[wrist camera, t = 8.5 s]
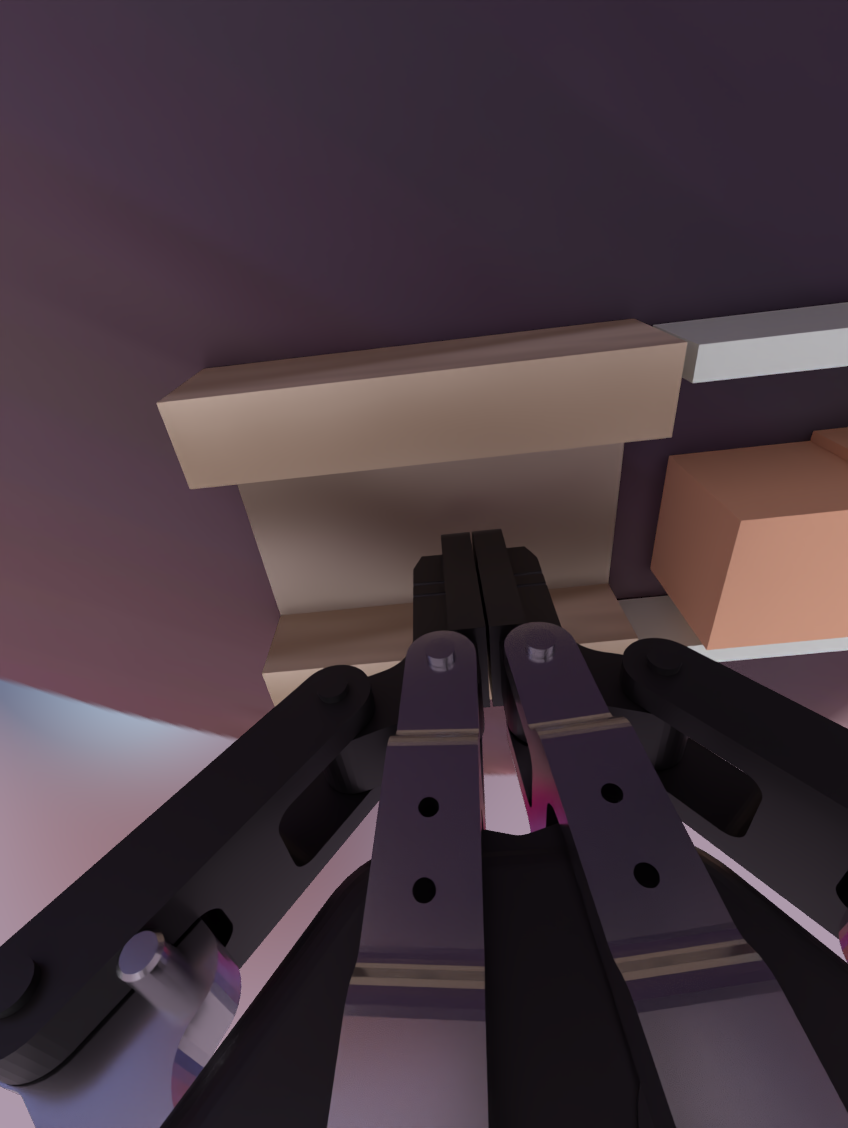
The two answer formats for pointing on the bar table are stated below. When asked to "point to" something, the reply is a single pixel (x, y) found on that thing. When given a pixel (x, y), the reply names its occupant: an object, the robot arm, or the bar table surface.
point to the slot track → (427, 473)
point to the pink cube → (756, 544)
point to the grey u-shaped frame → (737, 354)
